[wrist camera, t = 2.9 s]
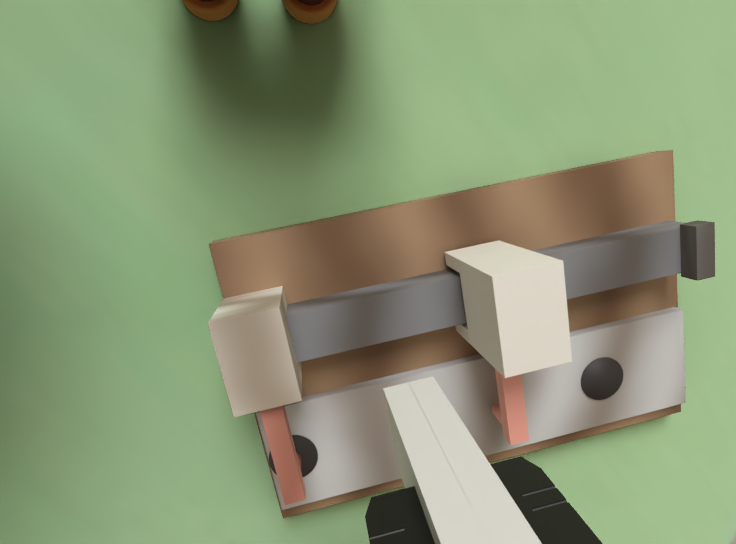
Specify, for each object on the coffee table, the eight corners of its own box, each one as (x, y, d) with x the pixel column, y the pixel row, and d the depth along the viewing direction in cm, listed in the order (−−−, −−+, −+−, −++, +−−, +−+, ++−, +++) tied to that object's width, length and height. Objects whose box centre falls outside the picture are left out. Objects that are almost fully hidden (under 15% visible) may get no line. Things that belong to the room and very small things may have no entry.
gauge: (283, 503, 27) (279, 578, 22) (213, 240, 23) (189, 258, 18) (665, 402, 29) (741, 448, 24) (656, 151, 26) (742, 145, 21)
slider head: (469, 417, 26) (518, 488, 20) (444, 252, 24) (492, 276, 18) (518, 405, 26) (581, 471, 20) (498, 240, 24) (563, 260, 18)
